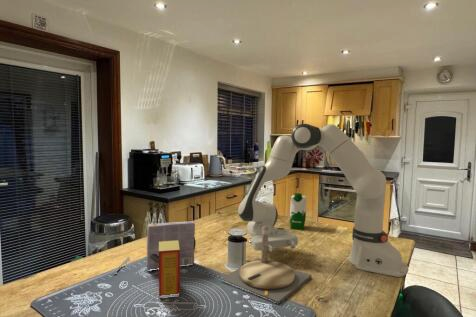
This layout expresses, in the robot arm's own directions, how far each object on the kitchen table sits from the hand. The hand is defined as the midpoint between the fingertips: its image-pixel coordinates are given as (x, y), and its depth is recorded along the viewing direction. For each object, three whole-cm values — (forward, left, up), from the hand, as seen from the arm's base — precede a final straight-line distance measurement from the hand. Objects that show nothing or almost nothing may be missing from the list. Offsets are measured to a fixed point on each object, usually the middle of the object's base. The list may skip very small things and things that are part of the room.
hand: (283, 248), depth 124 cm
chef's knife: (+50, +38, -9) cm, 64 cm away
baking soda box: (+21, +41, -8) cm, 46 cm away
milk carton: (+21, -52, -8) cm, 57 cm away
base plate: (0, +13, -8) cm, 15 cm away
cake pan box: (+35, +28, -8) cm, 45 cm away
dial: (0, +13, -6) cm, 14 cm away
